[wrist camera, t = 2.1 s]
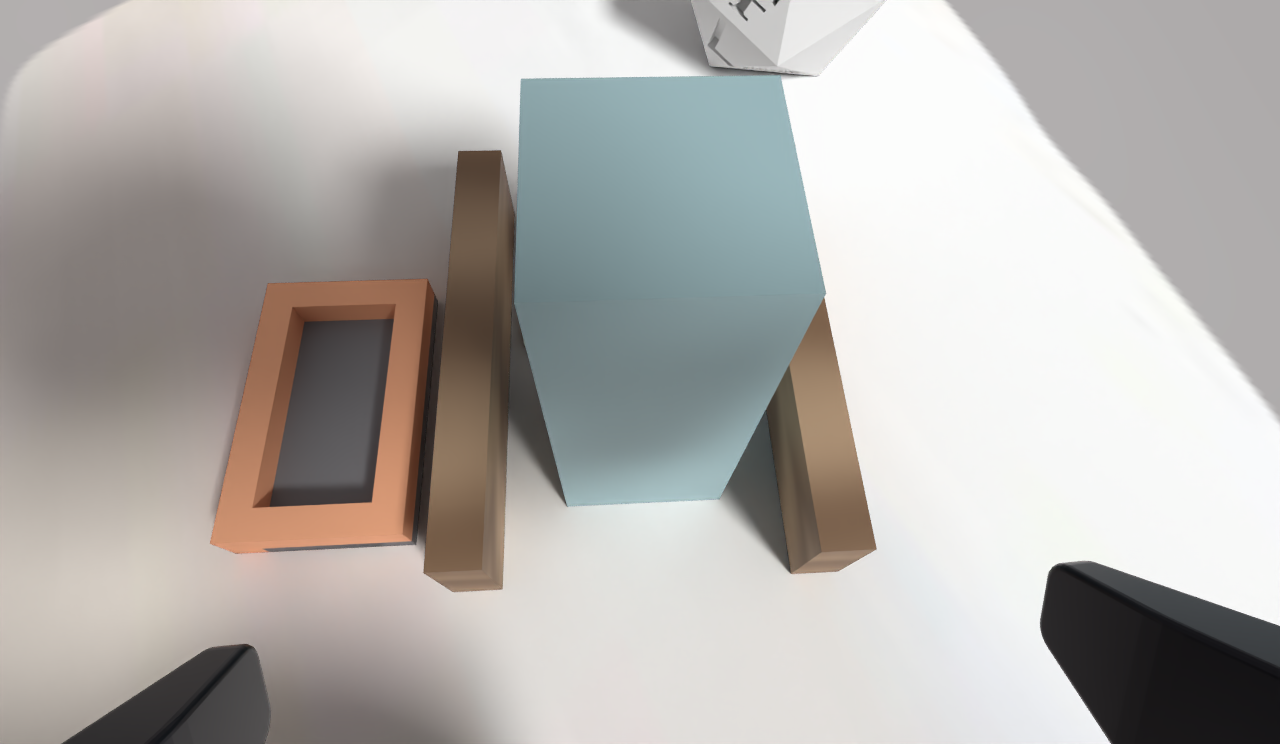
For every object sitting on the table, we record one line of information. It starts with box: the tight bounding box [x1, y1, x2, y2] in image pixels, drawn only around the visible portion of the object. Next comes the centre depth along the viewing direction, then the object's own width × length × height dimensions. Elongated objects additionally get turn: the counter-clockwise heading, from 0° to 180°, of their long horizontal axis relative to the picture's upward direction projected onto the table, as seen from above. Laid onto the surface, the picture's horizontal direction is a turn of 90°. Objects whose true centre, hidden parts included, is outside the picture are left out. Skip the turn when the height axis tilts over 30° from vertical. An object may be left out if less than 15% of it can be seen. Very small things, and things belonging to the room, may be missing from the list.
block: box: [514, 75, 826, 506], centre depth 17 cm, size 5×5×12 cm
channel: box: [423, 150, 876, 592], centre depth 22 cm, size 14×12×4 cm
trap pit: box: [210, 279, 438, 554], centre depth 22 cm, size 9×6×2 cm, turn 3°
